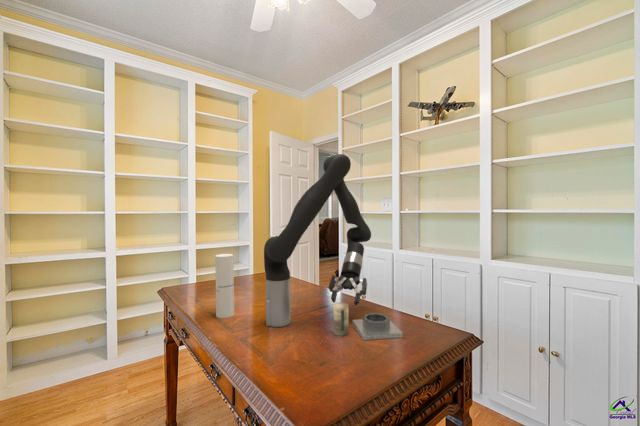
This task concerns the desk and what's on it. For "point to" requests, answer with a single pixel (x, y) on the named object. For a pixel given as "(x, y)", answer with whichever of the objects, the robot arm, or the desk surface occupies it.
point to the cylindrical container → (224, 285)
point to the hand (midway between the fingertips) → (344, 302)
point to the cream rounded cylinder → (341, 319)
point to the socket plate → (376, 327)
